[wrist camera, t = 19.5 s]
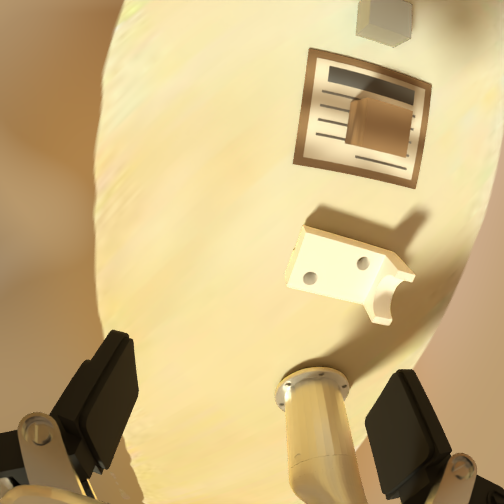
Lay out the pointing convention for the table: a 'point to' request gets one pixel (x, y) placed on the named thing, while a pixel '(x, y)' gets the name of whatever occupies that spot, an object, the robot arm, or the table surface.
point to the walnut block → (379, 126)
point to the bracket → (347, 271)
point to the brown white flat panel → (337, 113)
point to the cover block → (384, 21)
